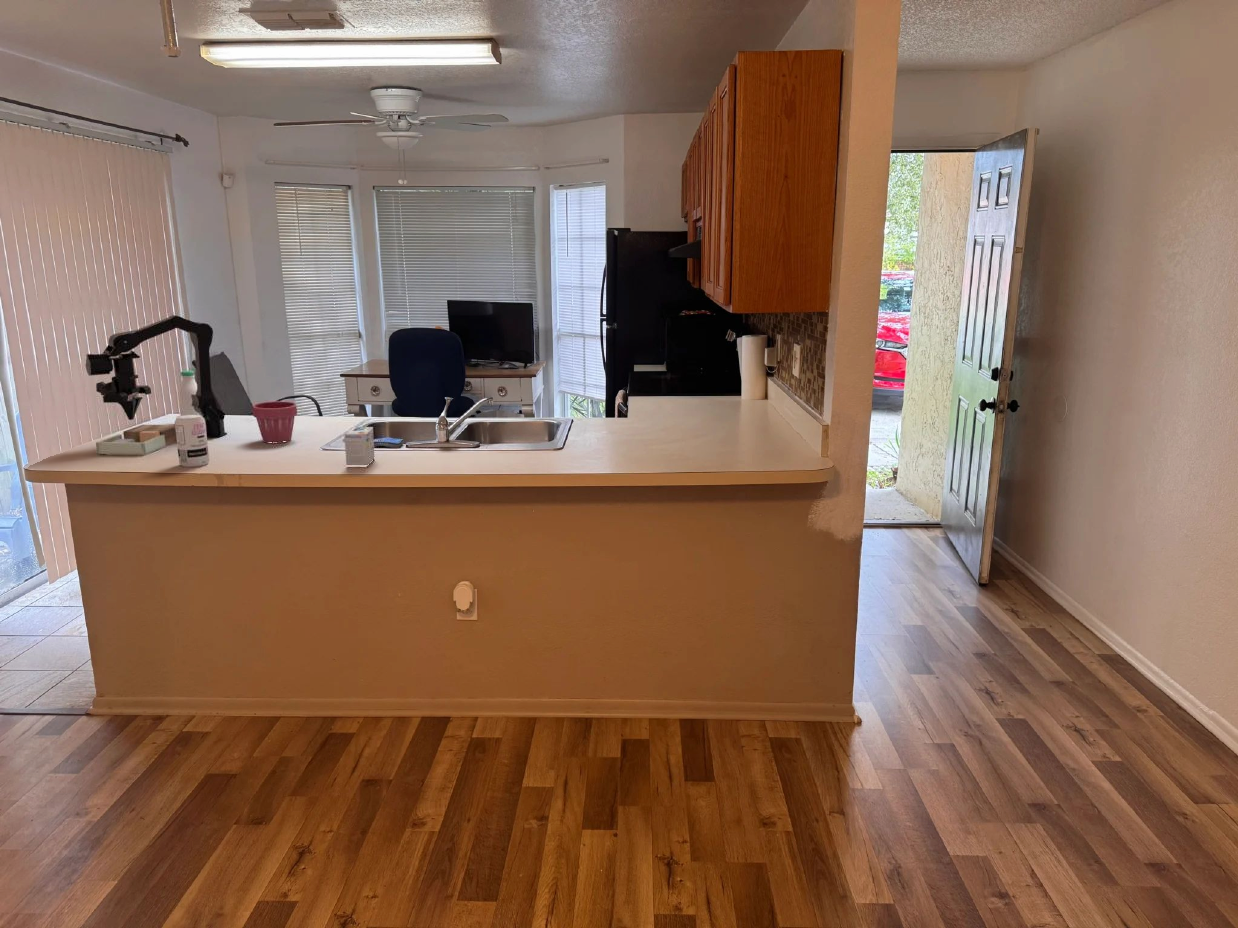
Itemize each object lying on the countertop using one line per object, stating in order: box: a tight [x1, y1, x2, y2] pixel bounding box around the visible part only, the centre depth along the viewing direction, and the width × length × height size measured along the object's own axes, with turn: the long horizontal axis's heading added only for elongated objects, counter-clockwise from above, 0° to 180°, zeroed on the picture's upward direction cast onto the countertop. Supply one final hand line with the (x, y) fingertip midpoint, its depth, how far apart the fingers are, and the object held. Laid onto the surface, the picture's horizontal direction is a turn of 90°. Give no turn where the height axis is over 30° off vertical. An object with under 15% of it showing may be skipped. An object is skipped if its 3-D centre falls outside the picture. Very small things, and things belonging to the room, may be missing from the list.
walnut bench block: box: [122, 424, 177, 447], centre depth 287 cm, size 13×12×5 cm
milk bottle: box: [178, 370, 200, 416], centre depth 318 cm, size 8×8×20 cm
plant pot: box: [252, 400, 298, 444], centre depth 291 cm, size 14×14×13 cm
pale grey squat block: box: [113, 438, 135, 443], centre depth 274 cm, size 5×5×3 cm
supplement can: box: [174, 414, 210, 468], centre depth 257 cm, size 8×8×15 cm
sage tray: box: [95, 434, 167, 457], centre depth 275 cm, size 15×13×4 cm
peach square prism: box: [139, 431, 160, 443], centre depth 279 cm, size 5×5×3 cm
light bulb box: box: [344, 426, 375, 466], centre depth 261 cm, size 11×7×11 cm, turn 4°
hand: (131, 419), depth 279 cm, fingers closed
